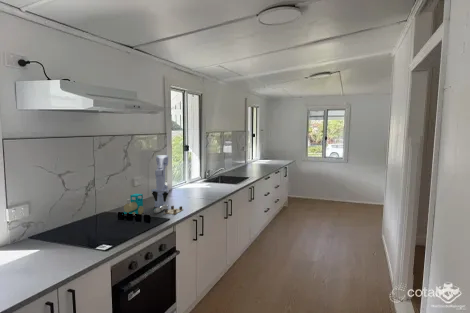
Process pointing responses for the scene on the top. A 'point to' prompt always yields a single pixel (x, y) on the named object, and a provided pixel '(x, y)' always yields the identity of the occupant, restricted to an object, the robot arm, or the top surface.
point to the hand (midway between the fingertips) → (160, 201)
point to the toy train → (134, 205)
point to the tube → (160, 208)
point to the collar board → (173, 210)
